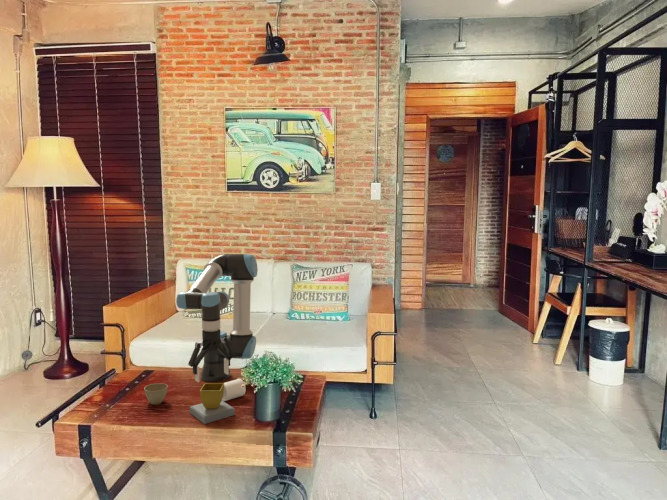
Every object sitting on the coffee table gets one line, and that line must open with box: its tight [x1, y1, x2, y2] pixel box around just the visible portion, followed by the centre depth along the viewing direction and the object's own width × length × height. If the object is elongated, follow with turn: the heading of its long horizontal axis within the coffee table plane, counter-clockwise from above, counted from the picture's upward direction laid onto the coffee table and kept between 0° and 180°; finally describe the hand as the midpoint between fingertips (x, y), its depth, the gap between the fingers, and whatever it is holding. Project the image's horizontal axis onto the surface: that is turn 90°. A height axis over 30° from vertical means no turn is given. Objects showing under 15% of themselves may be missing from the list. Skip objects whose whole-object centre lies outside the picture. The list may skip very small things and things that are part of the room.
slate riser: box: [189, 400, 236, 425], centre depth 207 cm, size 14×14×3 cm
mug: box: [222, 378, 246, 402], centre depth 225 cm, size 12×10×8 cm
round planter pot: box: [143, 382, 169, 405], centre depth 217 cm, size 10×10×7 cm
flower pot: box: [199, 382, 225, 409], centre depth 206 cm, size 9×9×9 cm
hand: (212, 377), depth 206 cm, fingers open, 13 cm apart
